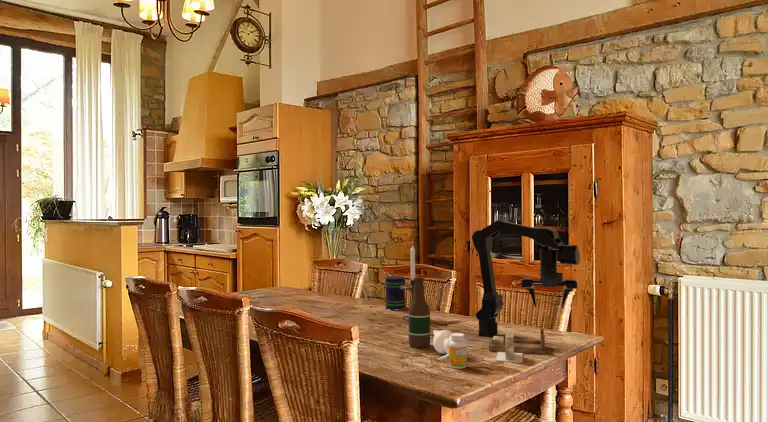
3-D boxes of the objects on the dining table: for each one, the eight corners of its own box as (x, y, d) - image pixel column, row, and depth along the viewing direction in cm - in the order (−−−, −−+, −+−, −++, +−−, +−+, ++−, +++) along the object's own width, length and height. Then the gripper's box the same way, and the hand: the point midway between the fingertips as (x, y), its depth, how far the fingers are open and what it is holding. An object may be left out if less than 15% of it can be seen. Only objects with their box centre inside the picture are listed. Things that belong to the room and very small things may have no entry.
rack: (488, 351, 184) (488, 333, 184) (490, 343, 194) (490, 326, 194) (544, 354, 180) (544, 335, 180) (543, 346, 189) (543, 329, 189)
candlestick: (409, 315, 245) (409, 237, 245) (430, 318, 239) (429, 238, 238) (395, 320, 236) (395, 238, 236) (417, 323, 230) (416, 239, 230)
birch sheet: (505, 359, 172) (505, 337, 172) (506, 353, 180) (506, 331, 180) (513, 360, 171) (513, 337, 171) (513, 353, 179) (513, 332, 179)
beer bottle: (432, 343, 194) (432, 276, 194) (427, 349, 187) (426, 278, 187) (411, 342, 197) (411, 275, 197) (405, 347, 190) (405, 278, 189)
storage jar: (383, 310, 259) (383, 278, 259) (386, 306, 269) (386, 275, 269) (404, 310, 258) (404, 278, 258) (407, 306, 267) (406, 276, 267)
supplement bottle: (447, 364, 169) (447, 332, 169) (464, 363, 170) (464, 332, 170) (450, 369, 164) (450, 336, 164) (468, 368, 164) (468, 336, 164)
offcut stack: (492, 347, 185) (492, 340, 185) (493, 342, 192) (493, 335, 192) (503, 347, 184) (503, 340, 184) (504, 342, 191) (504, 335, 191)
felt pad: (496, 361, 172) (496, 360, 172) (497, 353, 181) (497, 351, 181) (522, 362, 170) (522, 361, 170) (522, 354, 179) (522, 353, 179)
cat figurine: (462, 329, 175) (440, 321, 185) (439, 351, 170) (418, 341, 181) (473, 350, 177) (451, 341, 188) (451, 372, 173) (429, 361, 183)
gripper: (521, 265, 189) (521, 310, 189) (578, 266, 184) (578, 312, 184) (521, 262, 200) (521, 305, 200) (575, 263, 195) (575, 306, 195)
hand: (548, 307), depth 195 cm, fingers open, 9 cm apart
